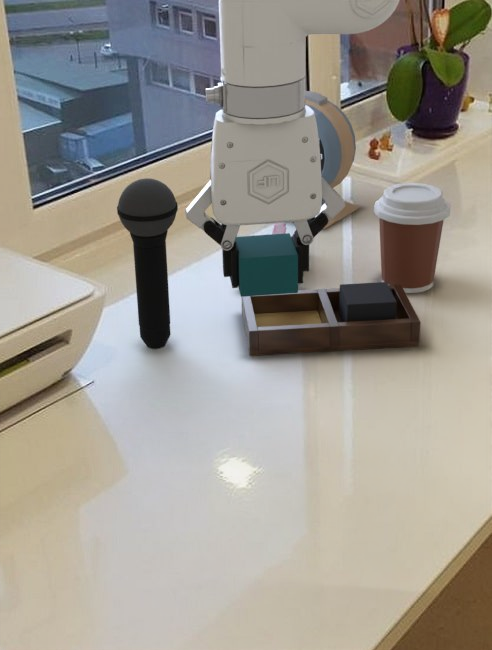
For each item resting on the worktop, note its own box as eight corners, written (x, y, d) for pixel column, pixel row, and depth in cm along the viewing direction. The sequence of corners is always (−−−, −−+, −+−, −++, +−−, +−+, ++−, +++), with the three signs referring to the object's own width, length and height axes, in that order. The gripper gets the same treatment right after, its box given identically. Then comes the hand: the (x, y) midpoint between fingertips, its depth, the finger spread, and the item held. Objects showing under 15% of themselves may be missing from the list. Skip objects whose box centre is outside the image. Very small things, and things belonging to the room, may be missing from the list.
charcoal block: (385, 312, 126) (387, 281, 124) (395, 333, 121) (396, 301, 120) (338, 314, 126) (339, 284, 125) (346, 336, 122) (347, 304, 120)
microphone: (116, 349, 123) (102, 184, 114) (149, 326, 128) (138, 166, 119) (163, 363, 120) (152, 194, 110) (195, 339, 124) (188, 175, 115)
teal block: (289, 269, 107) (289, 232, 105) (298, 293, 102) (298, 254, 100) (235, 273, 107) (234, 236, 105) (240, 297, 102) (239, 258, 100)
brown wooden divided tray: (399, 307, 128) (400, 284, 127) (418, 346, 120) (420, 321, 118) (241, 316, 129) (241, 293, 127) (249, 355, 120) (249, 331, 119)
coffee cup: (375, 298, 131) (379, 206, 125) (366, 268, 139) (370, 180, 133) (451, 296, 130) (459, 203, 125) (437, 266, 138) (444, 178, 133)
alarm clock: (247, 212, 160) (245, 94, 151) (283, 192, 166) (284, 79, 158) (330, 230, 151) (333, 107, 143) (365, 209, 158) (369, 90, 149)
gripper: (170, 115, 93) (180, 302, 101) (367, 101, 93) (361, 290, 101) (166, 93, 100) (176, 270, 108) (350, 80, 99) (346, 259, 108)
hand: (265, 278), depth 105 cm, fingers closed on teal block, 5 cm apart
